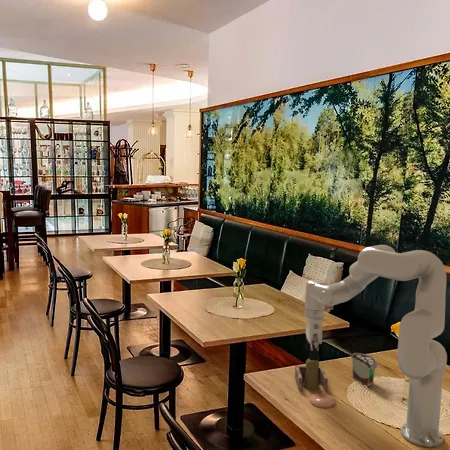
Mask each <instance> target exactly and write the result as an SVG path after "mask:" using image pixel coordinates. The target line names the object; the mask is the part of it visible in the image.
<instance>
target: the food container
mask: <svg viewBox="0 0 450 450" xmlns="http://www.w3.org/2000/svg"><path fill="white" fill-rule="evenodd" d="M351 358H352V379H354V380H356V381H357V382H358V381H359V382H358V383H360V382H361V383H363V384H364V385H366V386H367V387H368V388H370V386H371V387H372V386H373V385H372V384H373V383H374V380H375V379H374V378H375V371H376V369H377V367H378V362H377V359H376V358H375V357H374V356H372V355H370V354H367V353H360V352H354V353H352V355H351ZM361 383H360V384H361ZM363 384H362V385H363ZM364 385H363V386H364ZM366 386H365V387H366ZM367 387H366V388H367Z"/></svg>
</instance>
